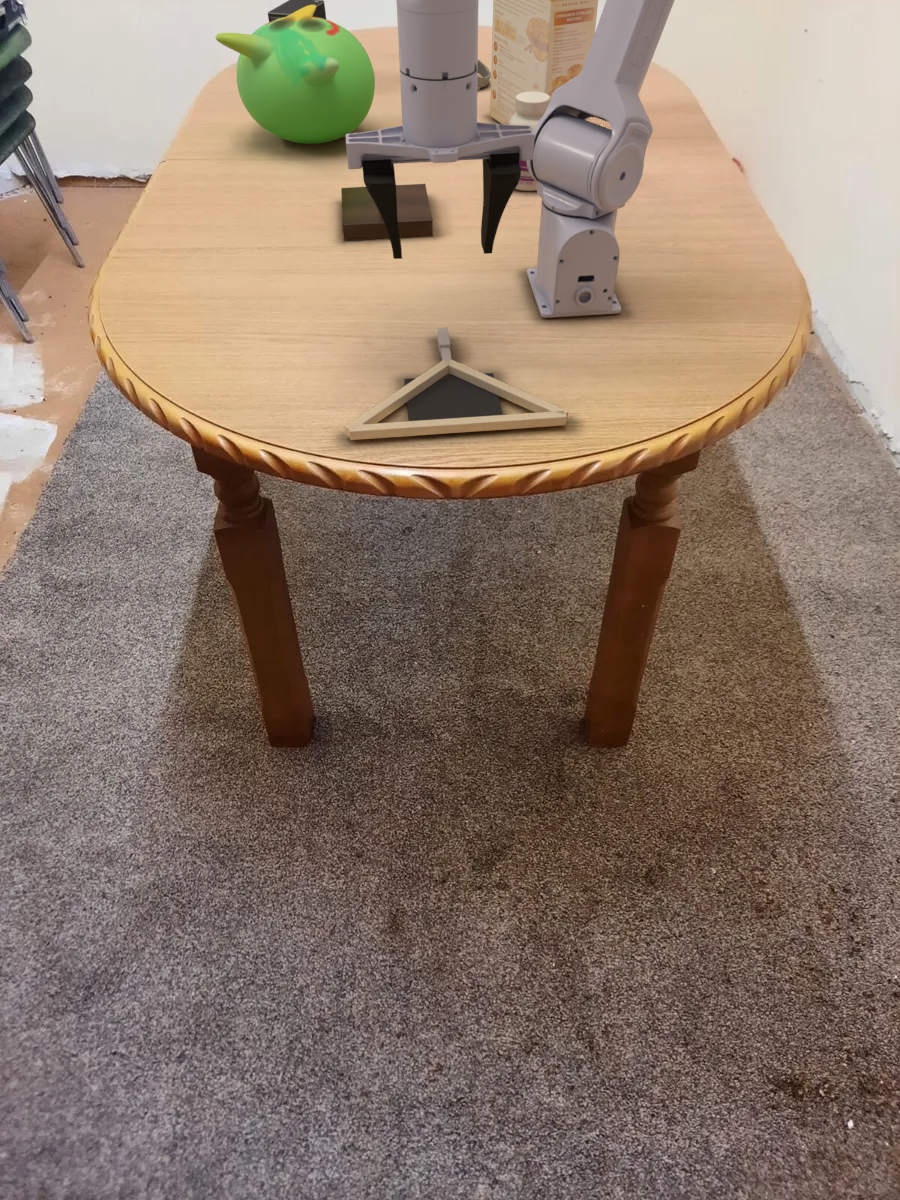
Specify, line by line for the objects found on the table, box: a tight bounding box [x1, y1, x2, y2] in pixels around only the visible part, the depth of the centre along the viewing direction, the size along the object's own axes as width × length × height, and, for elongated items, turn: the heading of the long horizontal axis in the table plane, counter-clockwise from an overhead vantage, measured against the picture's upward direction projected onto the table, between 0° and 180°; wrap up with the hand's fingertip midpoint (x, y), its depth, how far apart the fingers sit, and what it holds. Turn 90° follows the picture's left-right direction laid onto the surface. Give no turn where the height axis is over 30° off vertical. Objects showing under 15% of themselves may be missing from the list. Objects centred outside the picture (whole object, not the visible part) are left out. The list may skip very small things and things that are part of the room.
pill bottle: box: [509, 92, 550, 192], centre depth 99 cm, size 5×5×10 cm
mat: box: [404, 372, 504, 421], centre depth 71 cm, size 8×8×1 cm
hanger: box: [344, 327, 569, 441], centre depth 73 cm, size 19×15×1 cm
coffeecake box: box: [489, 0, 599, 125], centre depth 107 cm, size 15×7×20 cm, turn 25°
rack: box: [340, 183, 434, 242], centre depth 94 cm, size 10×10×5 cm
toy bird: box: [215, 5, 376, 145], centre depth 107 cm, size 18×17×15 cm
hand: (442, 250), depth 70 cm, fingers open, 7 cm apart
